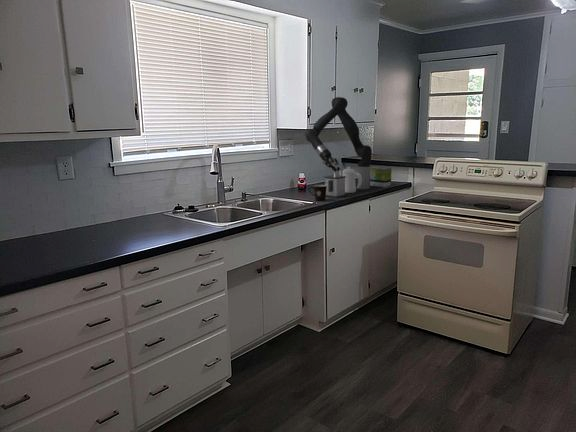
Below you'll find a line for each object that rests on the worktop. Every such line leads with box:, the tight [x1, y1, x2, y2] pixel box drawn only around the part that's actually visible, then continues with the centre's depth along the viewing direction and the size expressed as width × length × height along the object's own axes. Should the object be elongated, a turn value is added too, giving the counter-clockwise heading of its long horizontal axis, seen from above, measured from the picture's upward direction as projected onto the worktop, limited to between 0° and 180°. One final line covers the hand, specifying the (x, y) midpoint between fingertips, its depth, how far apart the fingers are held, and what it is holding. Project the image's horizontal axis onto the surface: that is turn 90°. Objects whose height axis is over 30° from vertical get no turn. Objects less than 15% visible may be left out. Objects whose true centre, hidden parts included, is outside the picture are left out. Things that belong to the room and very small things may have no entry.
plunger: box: [333, 164, 339, 177], centre depth 306 cm, size 8×8×20 cm
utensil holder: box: [323, 174, 346, 199], centre depth 307 cm, size 12×11×14 cm
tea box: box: [370, 166, 393, 188], centre depth 351 cm, size 15×10×15 cm, turn 49°
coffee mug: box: [308, 184, 327, 202], centre depth 294 cm, size 12×9×10 cm
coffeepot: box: [338, 166, 362, 194], centre depth 324 cm, size 11×25×19 cm, turn 42°
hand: (337, 170), depth 304 cm, fingers closed on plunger, 3 cm apart
